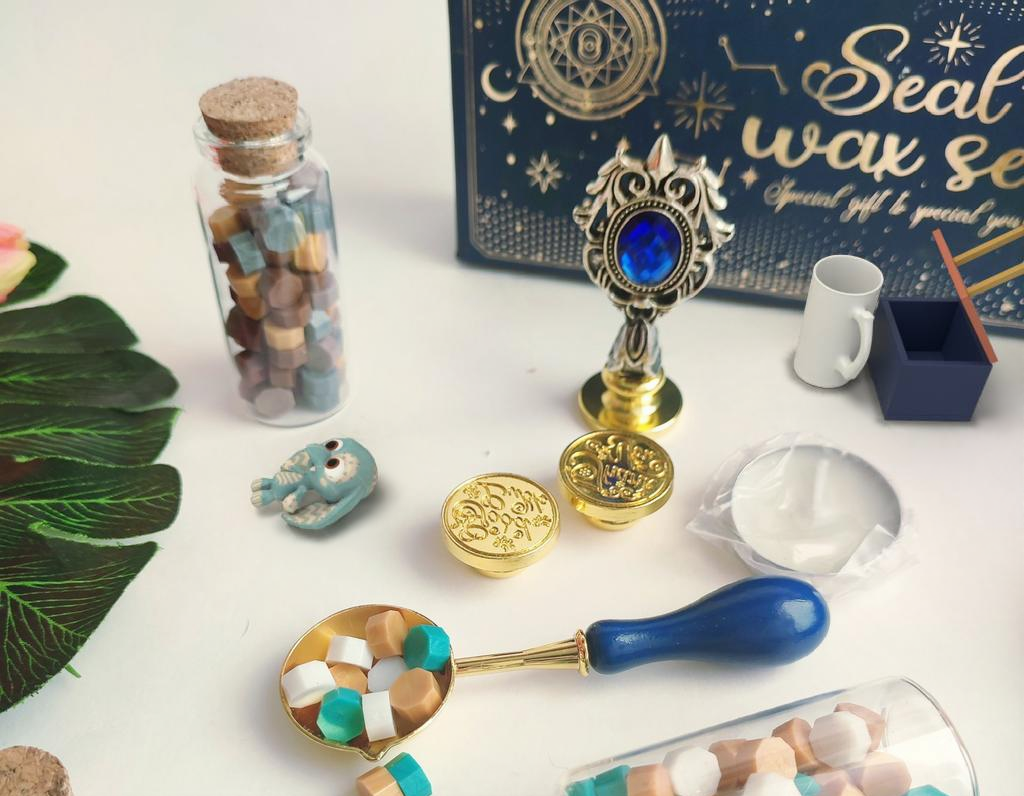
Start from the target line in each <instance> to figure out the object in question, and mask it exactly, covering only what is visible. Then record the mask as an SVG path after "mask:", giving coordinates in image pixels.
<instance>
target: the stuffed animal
mask: <svg viewBox="0 0 1024 796" xmlns="http://www.w3.org/2000/svg"><path fill="white" fill-rule="evenodd" d="M378 476H379V474H378V465H377V462H376V460H375V458H374V457H373V454H371V452H370V450H369V449H367V448H366V447H365V446H363V444H361V443H360V442H358V441H357V440H355V439H354V438H352V437H346V438H345V437H344V438H343V437H333V438H330V439H327V440H325V441H324V442H321V443H315V442H314V443H309V444H307V445H306V447H305V448H303V449H301V450H300V449H299V450H298V451H296V452H295V453H293V455H292V456H290V457H289V458H288V459H286V460H285V461H284V462H283V463H282V464H281V466H280V471H279V472H276V473H275V474H274V475H273V477H272V478H270V477H269V478H268V477H259V478H256V479H253V480H252V481H251V484H250V489H251V492H252V493H251V496H250V503H251V505H252V506H253V507H254V508H255V509H260V508H264V507H267V506H269V505H270V504H271V503H273V502H274V501H276V500H277V501H280V502H282V506H283V509H284V510H285V511H286V512H283V513H282V514H281V515H280V517H281V518H282V520H283V521H284V522H285V523H287V524H288V525H291V526H294V527H297V528H300V529H303V530H304V529H305V530H317V531H318V530H321V529H323V528H326V527H328V526H330V525H334V524H335V523H336V522H337V521H338V520H340V519H341V518H343V517H344V516H345V515H347V514H348V513H349V512H351V511H352V510H353V509H354V508H355V507H356V506H357V505H358V504H359V503H360V502H361V500H364V499H366V498H368V497H369V496H370V495H371V493H372V492H373V490H374V489H375V487H376V484H377V481H378ZM310 490H314V491H315V492H316V493H318V494H319V495H320V496H321V497H322V498H323V499H324V500H325V501H327V502H323V501H317V502H313V503H311V504H306V505H305V506H304V505H303V506H301V507H300V505H301V503H302V501H303V499H304V497H305V495H306V494H307V492H308V491H310Z"/></svg>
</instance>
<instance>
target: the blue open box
mask: <svg viewBox="0 0 1024 796" xmlns="http://www.w3.org/2000/svg"><path fill="white" fill-rule="evenodd" d="M873 316H874V320H873V332H872V342H871V348H870V353H869V356H868V359H867V361H866V364H867V367H868V370H869V374H870V377H871V380H872V383H873V386H874V390H875V393H876V396H877V399H878V403H879V406H880V410H881V413H882V416H883V419H884V420H885V421H929V422H931V421H932V422H934V421H935V422H971V421H972V419H973V415H974V412H975V410H976V408H977V406H978V404H979V401H980V398H981V396H982V393H983V391H984V389H985V386H986V384H987V381H988V379H989V377H990V374H991V372H992V370H993V366H994V365H993V363H992V364H991V363H990V361H989V359H988V357H987V355H986V353H985V350H984V348H983V346H982V344H981V342H980V340H979V338H978V335H977V333H976V331H975V329H974V327H973V325H972V323H971V320H970V318H969V316H968V314H967V312H966V310H965V308H964V306H963V303H962V301H961V299H960V297H926V296H923V297H922V296H879V298H878V302H877V305H876V308H875V312H874V315H873Z"/></svg>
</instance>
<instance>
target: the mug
mask: <svg viewBox="0 0 1024 796" xmlns="http://www.w3.org/2000/svg"><path fill="white" fill-rule="evenodd" d="M884 279H885V278H884V274H883V273H882V270H880V268H879V267H877V266H876V265H875V264H874V263H872V262H871V261H869V260H867V259H864V258H861V257H859V256H854V255H848V254H834V255H829V256H825V257H823V258H821V259H820V260H818V261H817V262H816V263H815V264H814V266H813V270H812V276H811V280H810V284H809V288H808V293H807V298H806V303H805V306H804V312H803V316H802V321H801V326H800V330H799V335H798V340H797V344H796V350H795V355H794V360H793V371H794V372H795V374H796V375H797V376H798V378H800V379H801V380H802V381H803V382H805V383H806V384H809V385H811V386H814V387H818V388H825V389H835V388H839V387H842V386H844V385H846V384H847V383H849V382H850V381H851V380H855V379H856V378H857V377H858V376H859V374H860V372H862V370H863V368H864V367H865V365H866V364H867V359H868V356H869V353H870V348H871V342H872V332H873V320H874V316H875V315H874V314H875V311H876V308H877V305H878V302H879V299H880V294H881V290H882V286H883V284H884Z"/></svg>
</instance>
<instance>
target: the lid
mask: <svg viewBox="0 0 1024 796" xmlns="http://www.w3.org/2000/svg"><path fill="white" fill-rule="evenodd" d="M932 235H933V238H934V241H935V242H936V244H937V247H938V249H939V252H940V254H941V256H942V259H943V261H944V263H945V266H946V268H947V271H948V273H949V275H950V278H951V280H952V283H953V285H954V287H955V290H956V292H957V295H958V298H960V299H961V301H962V303H963V306H964V308H965V310H966V312H967V314H968V316H969V318H970V320H971V323H972V325H973V327H974V329H975V331H976V333H977V335H978V338H979V340H980V342H981V344H982V346H983V348H984V350H985V353H986V355H987V357H988V359H989V361H990V363H991V364H992V365H993V364H995V363H997V362H999V359H998V357H997V355H996V352H995V350H994V348H993V346H992V343H991V341H990V339H989V336H988V333H987V331H986V329H985V327H984V324H983V322H982V320H981V318H980V315H979V313H978V311H977V309H976V306H975V304H974V301H973V300H972V298H973V297H975V296H978V295H980V294H982V293H984V292H986V291H988V290H990V289H993V288H995V287H997V286H999V285H1002V284H1004V283H1006V282H1009V281H1011V280H1013V279H1015V278H1018V277H1019V276H1022V275H1024V261H1023V262H1021V263H1019V264H1017V265H1014V266H1013V267H1010V268H1008V269H1006V270H1004V271H1001V272H999V273H997V274H995V275H993V276H990V277H989V278H987V279H984V280H982V281H979V282H977V283H975V284H973V285H971V286H969V287H967V286H966V283H965V282H964V279H963V277H962V275H961V273H960V271H959V269H958V267H960V266H962V265H964V264H966V263H969V262H970V261H972V260H975V259H977V258H980V257H982V256H983V255H986V254H987V253H990V252H992V251H994V250H996V249H998V248H1000V247H1003V246H1005V245H1007V244H1010V243H1011V242H1013V241H1016V240H1017V239H1020V238H1022V237H1024V220H1022V223H1021V225H1020V226H1018V227H1015V228H1014V229H1011V230H1009V231H1007V232H1006V233H1003V234H1001V235H999V236H997V237H995V238H993V239H991V240H988V241H986V242H984V243H982V244H980V245H978V246H976V247H973V248H971V249H969V250H967V251H965V252H963V253H960V254H959V255H956V256H954V257H953V255H952V253H951V251H950V249H949V247H948V245H947V243H946V240H945V238H944V235H943V234H942V232H941V229H940V228H937V229H936V230H933V231H932Z"/></svg>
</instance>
